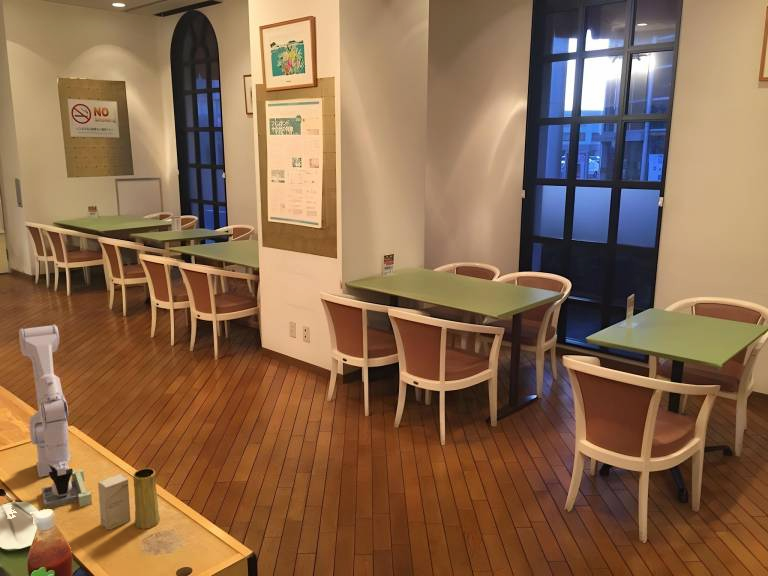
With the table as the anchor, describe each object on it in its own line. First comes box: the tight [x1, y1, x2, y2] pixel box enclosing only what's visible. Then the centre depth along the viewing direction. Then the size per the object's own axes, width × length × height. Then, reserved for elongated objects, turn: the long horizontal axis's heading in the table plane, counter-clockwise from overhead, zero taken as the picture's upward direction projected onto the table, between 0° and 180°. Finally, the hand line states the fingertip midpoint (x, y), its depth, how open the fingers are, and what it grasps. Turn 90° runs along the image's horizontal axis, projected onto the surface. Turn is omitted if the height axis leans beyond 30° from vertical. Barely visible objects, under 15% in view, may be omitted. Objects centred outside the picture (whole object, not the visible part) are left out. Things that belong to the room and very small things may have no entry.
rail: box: [71, 468, 93, 508], centre depth 179 cm, size 16×3×3 cm, turn 33°
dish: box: [41, 480, 81, 509], centre depth 177 cm, size 9×9×2 cm
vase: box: [133, 467, 160, 530], centre depth 165 cm, size 6×6×14 cm
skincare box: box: [97, 473, 131, 531], centre depth 165 cm, size 6×4×12 cm
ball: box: [51, 480, 72, 497], centre depth 176 cm, size 5×5×5 cm
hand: (61, 487), depth 176 cm, fingers open, 7 cm apart
